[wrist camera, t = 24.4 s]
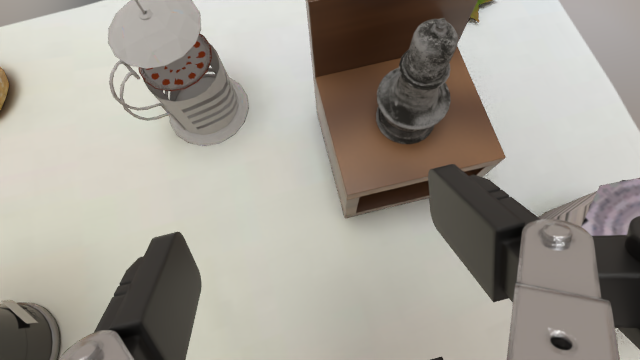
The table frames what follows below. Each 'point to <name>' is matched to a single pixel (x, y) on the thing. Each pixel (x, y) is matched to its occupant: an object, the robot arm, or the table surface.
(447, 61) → the chess piece
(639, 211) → the can
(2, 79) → the bagel
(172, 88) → the french press
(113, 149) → the table surface
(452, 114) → the l-shaped wooden block
